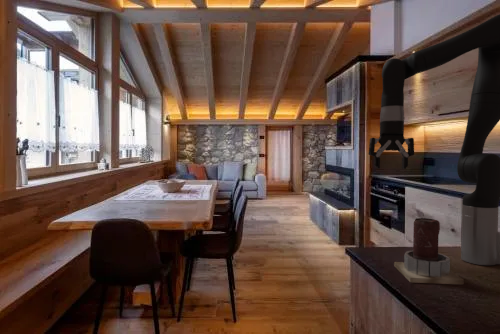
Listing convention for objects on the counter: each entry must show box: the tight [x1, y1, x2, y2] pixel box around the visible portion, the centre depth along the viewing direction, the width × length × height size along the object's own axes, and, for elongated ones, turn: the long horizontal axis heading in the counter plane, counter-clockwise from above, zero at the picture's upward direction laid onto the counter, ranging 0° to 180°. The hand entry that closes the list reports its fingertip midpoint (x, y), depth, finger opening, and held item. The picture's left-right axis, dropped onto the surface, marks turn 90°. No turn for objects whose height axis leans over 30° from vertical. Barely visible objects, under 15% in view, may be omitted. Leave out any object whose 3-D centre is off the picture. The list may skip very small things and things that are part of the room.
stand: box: [393, 261, 465, 285], centre depth 94 cm, size 13×13×1 cm
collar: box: [403, 249, 451, 277], centre depth 94 cm, size 11×11×4 cm
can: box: [412, 217, 441, 261], centre depth 93 cm, size 6×6×14 cm
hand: (390, 168), depth 116 cm, fingers open, 8 cm apart
